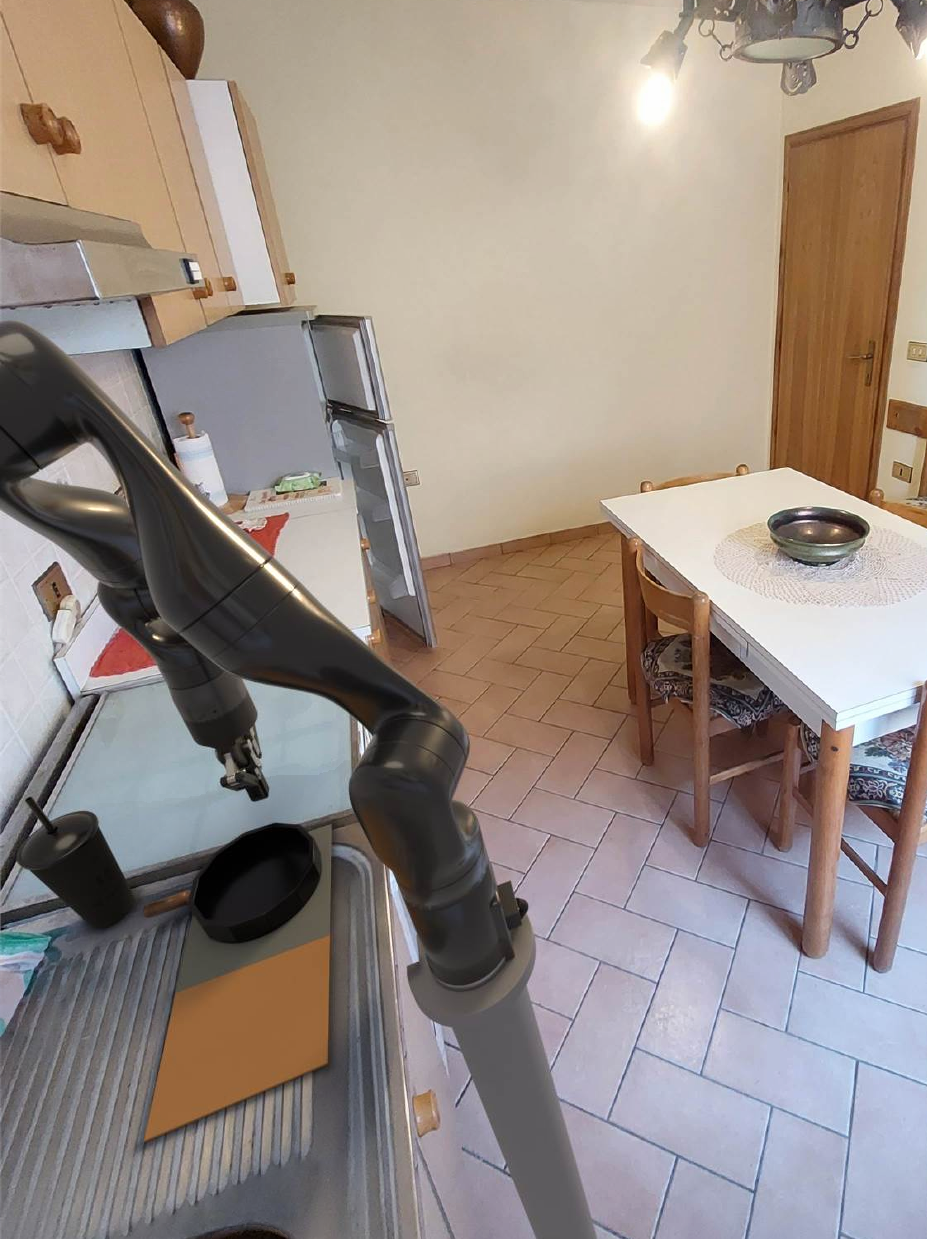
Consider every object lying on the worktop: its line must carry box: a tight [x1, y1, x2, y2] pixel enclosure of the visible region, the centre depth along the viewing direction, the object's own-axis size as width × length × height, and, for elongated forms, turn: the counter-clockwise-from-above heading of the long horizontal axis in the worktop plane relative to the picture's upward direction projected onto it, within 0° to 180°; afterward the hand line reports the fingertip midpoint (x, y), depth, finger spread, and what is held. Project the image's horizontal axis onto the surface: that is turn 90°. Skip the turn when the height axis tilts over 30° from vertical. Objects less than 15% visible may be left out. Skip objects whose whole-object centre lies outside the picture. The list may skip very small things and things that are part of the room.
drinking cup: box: [16, 796, 136, 930], centre depth 77 cm, size 8×8×20 cm
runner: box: [143, 823, 333, 1143], centre depth 75 cm, size 16×31×1 cm, turn 20°
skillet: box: [142, 822, 322, 944], centre depth 81 cm, size 19×14×4 cm
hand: (261, 796), depth 91 cm, fingers closed
